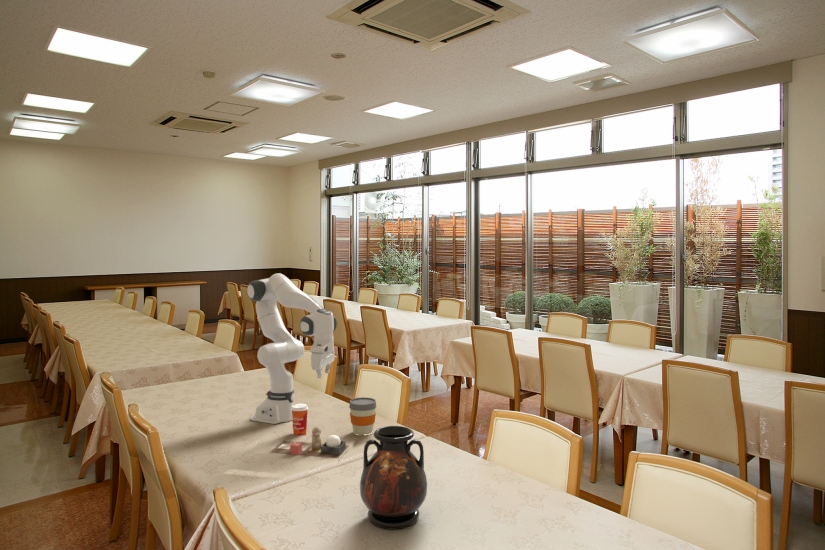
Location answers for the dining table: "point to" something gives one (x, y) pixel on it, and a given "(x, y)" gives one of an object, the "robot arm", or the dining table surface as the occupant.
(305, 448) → the game board
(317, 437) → the pawn
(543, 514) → the dining table surface
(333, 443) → the dome button
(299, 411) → the paper cup
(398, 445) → the amphora vase
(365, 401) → the reusable coffee cup
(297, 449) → the die
